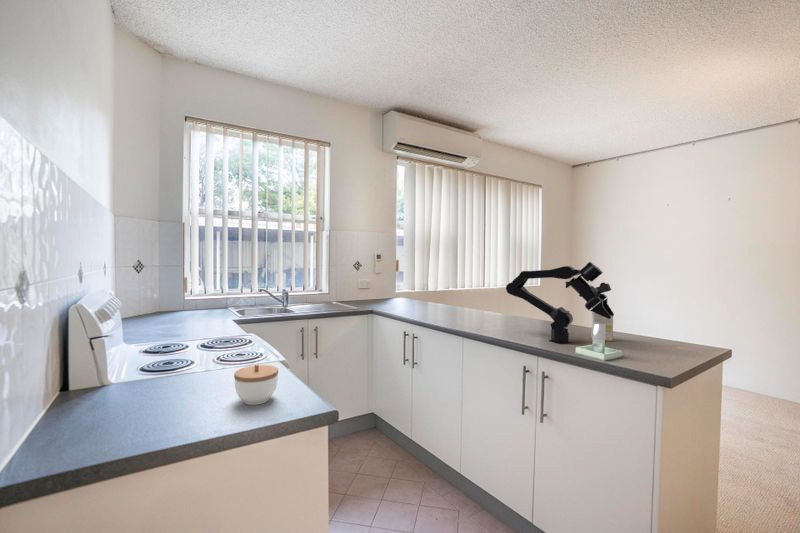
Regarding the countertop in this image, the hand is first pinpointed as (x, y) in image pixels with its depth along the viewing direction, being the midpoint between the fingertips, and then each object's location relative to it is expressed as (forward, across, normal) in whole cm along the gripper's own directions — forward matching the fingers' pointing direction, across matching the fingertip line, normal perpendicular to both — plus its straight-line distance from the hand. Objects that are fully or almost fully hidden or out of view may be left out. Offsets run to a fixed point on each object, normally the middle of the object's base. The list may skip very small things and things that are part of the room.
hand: (611, 316), depth 153 cm
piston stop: (+7, -14, +11) cm, 19 cm away
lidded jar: (-37, -121, +56) cm, 139 cm away
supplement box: (+6, +18, +14) cm, 23 cm away
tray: (+8, -14, +12) cm, 20 cm away
